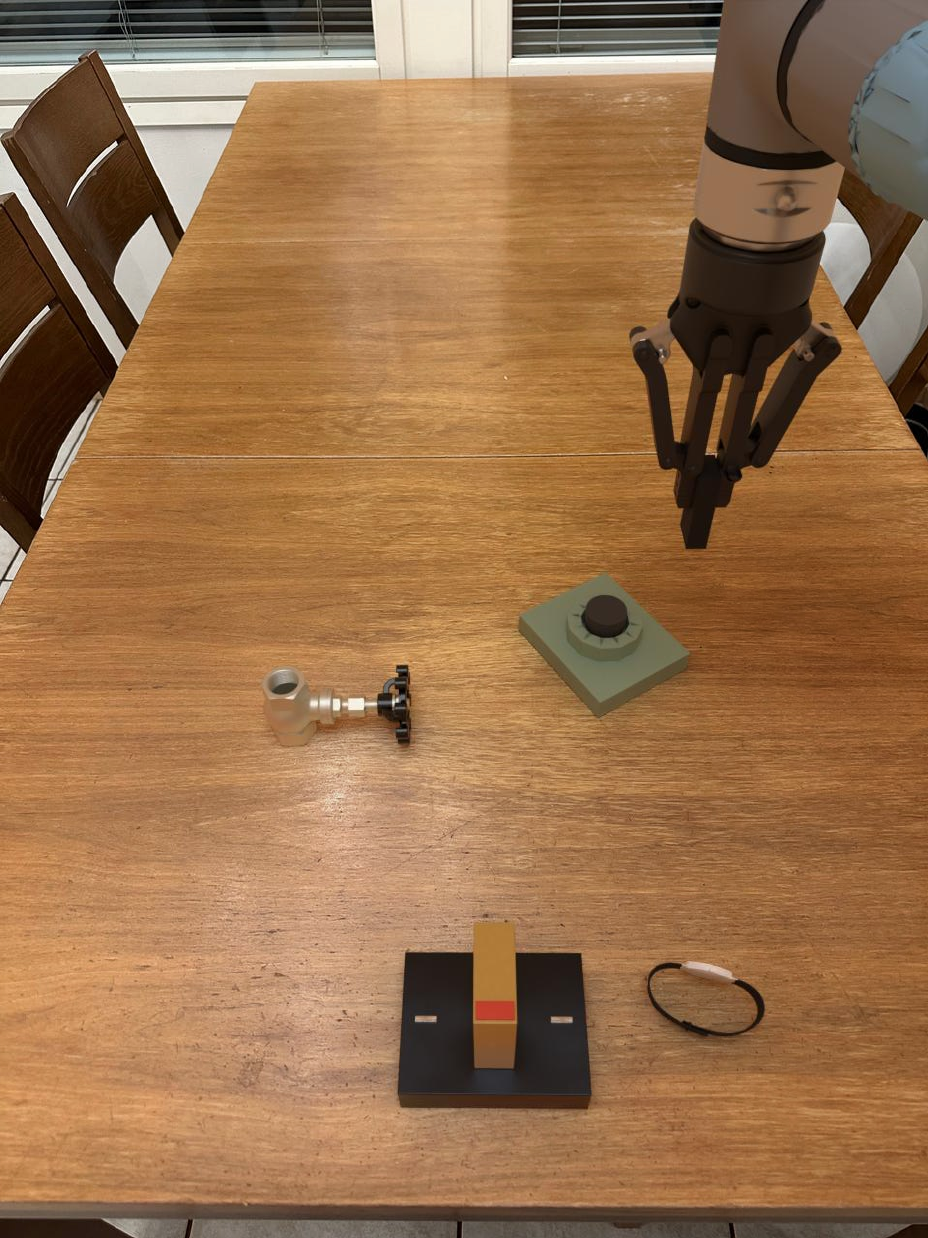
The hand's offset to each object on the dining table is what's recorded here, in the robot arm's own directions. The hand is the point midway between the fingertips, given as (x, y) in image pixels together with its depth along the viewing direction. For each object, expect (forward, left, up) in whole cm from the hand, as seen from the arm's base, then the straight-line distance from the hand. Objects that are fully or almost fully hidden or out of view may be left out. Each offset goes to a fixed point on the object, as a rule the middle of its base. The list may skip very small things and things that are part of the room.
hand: (692, 536), depth 70 cm
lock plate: (-17, +29, -18) cm, 38 cm away
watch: (-23, +16, -18) cm, 33 cm away
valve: (+11, +26, -18) cm, 33 cm away
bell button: (+6, +2, -14) cm, 15 cm away
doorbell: (+6, +2, -18) cm, 19 cm away
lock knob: (-17, +29, -15) cm, 37 cm away
